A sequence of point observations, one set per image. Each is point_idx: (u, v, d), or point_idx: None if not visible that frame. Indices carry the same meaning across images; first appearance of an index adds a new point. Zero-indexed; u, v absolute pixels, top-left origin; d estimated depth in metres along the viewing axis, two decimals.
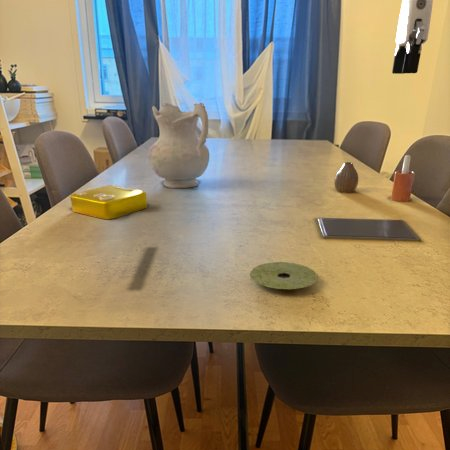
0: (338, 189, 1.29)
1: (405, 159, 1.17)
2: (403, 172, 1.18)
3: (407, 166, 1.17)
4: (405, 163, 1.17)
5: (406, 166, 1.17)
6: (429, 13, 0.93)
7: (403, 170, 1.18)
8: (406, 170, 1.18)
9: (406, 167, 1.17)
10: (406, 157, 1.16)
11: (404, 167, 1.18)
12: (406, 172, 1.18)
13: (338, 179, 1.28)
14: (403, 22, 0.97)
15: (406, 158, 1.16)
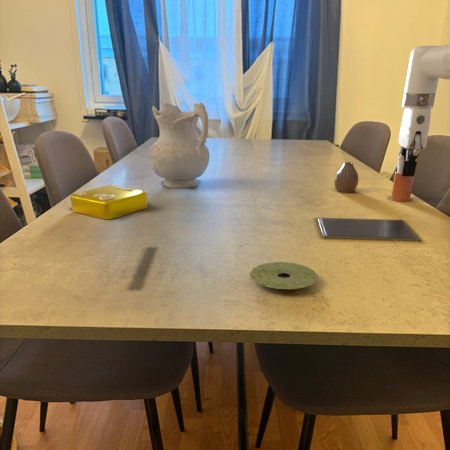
0: (338, 189, 1.29)
1: (398, 160, 1.17)
2: None
3: (402, 166, 1.17)
4: (399, 164, 1.17)
5: (400, 166, 1.17)
6: (427, 127, 1.09)
7: (398, 171, 1.18)
8: (401, 170, 1.18)
9: (401, 167, 1.17)
10: (399, 158, 1.17)
11: (399, 168, 1.18)
12: None
13: (338, 179, 1.28)
14: (405, 131, 1.12)
15: (399, 159, 1.17)
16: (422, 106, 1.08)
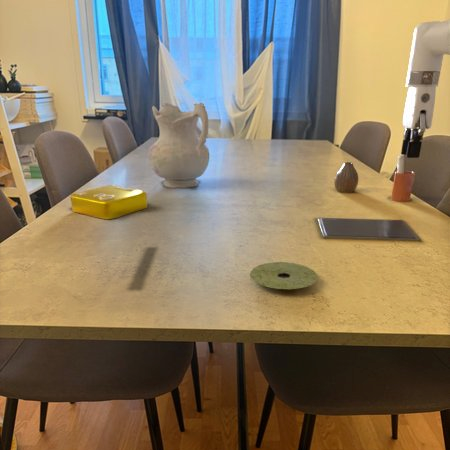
0: (338, 189, 1.29)
1: (398, 160, 1.17)
2: None
3: (402, 166, 1.17)
4: (399, 164, 1.17)
5: (400, 166, 1.17)
6: (432, 105, 1.06)
7: (398, 171, 1.18)
8: (401, 170, 1.18)
9: (401, 167, 1.17)
10: (399, 158, 1.17)
11: (399, 168, 1.18)
12: (402, 172, 1.18)
13: (338, 179, 1.28)
14: (409, 111, 1.10)
15: (399, 159, 1.17)
16: (426, 84, 1.05)
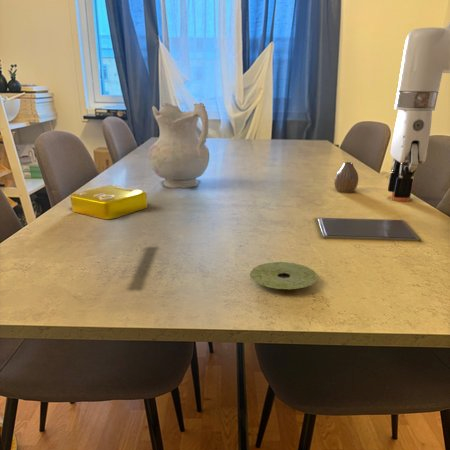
0: (338, 189, 1.29)
1: None
2: None
3: None
4: None
5: None
6: (427, 135, 0.83)
7: None
8: None
9: None
10: None
11: None
12: None
13: (338, 179, 1.28)
14: (398, 140, 0.87)
15: None
16: (420, 108, 0.82)
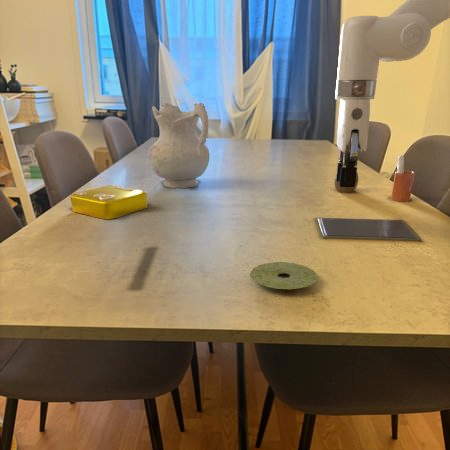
0: (338, 189, 1.29)
1: (398, 160, 1.17)
2: None
3: (402, 166, 1.17)
4: (399, 164, 1.17)
5: (400, 166, 1.17)
6: (366, 123, 0.83)
7: (398, 171, 1.18)
8: (401, 170, 1.18)
9: (401, 167, 1.17)
10: (399, 158, 1.17)
11: (399, 168, 1.18)
12: (402, 172, 1.18)
13: None
14: (340, 129, 0.87)
15: (399, 159, 1.17)
16: (358, 96, 0.82)
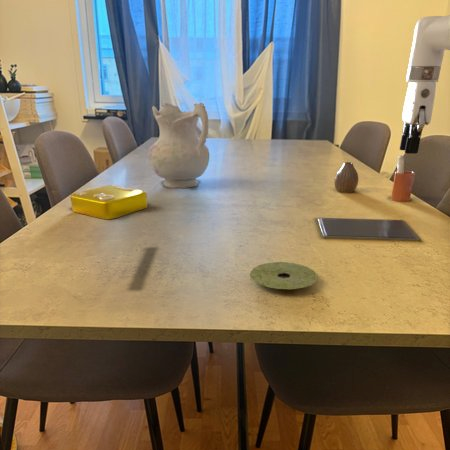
0: (338, 189, 1.29)
1: (398, 160, 1.17)
2: None
3: (402, 166, 1.17)
4: (399, 164, 1.17)
5: (400, 166, 1.17)
6: (432, 101, 1.06)
7: (398, 171, 1.18)
8: (401, 170, 1.18)
9: (401, 167, 1.17)
10: (399, 158, 1.17)
11: (399, 168, 1.18)
12: (402, 172, 1.18)
13: (338, 179, 1.28)
14: (409, 106, 1.10)
15: (399, 159, 1.17)
16: (427, 79, 1.05)
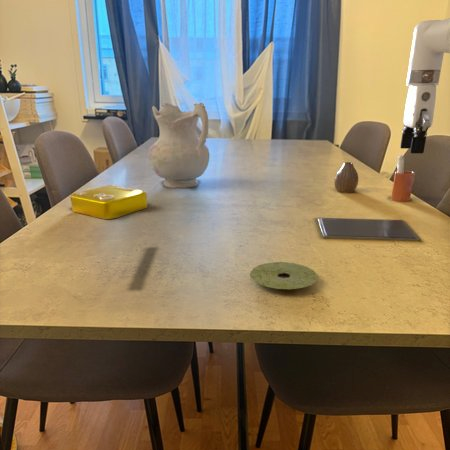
0: (338, 189, 1.29)
1: (398, 160, 1.17)
2: None
3: (402, 166, 1.17)
4: (399, 164, 1.17)
5: (400, 166, 1.17)
6: (433, 104, 1.06)
7: (398, 171, 1.18)
8: (401, 170, 1.18)
9: (401, 167, 1.17)
10: (399, 158, 1.17)
11: (399, 168, 1.18)
12: (402, 172, 1.18)
13: (338, 179, 1.28)
14: (410, 110, 1.10)
15: (399, 159, 1.17)
16: (427, 83, 1.05)
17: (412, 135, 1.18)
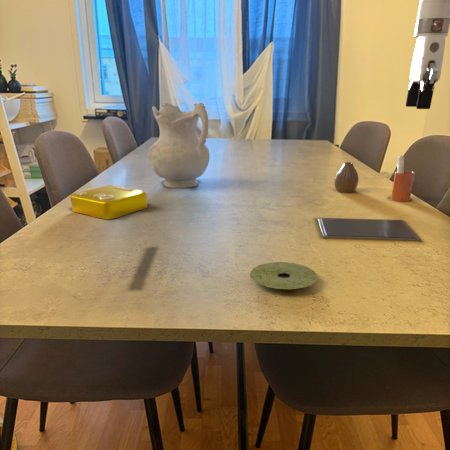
0: (338, 189, 1.29)
1: (398, 160, 1.17)
2: None
3: (402, 166, 1.17)
4: (399, 164, 1.17)
5: (400, 166, 1.17)
6: (441, 55, 1.01)
7: (398, 171, 1.18)
8: (401, 170, 1.18)
9: (401, 167, 1.17)
10: (399, 158, 1.17)
11: (399, 168, 1.18)
12: (402, 172, 1.18)
13: (338, 179, 1.28)
14: (417, 62, 1.05)
15: (399, 159, 1.17)
16: (436, 32, 1.00)
17: (418, 92, 1.13)
